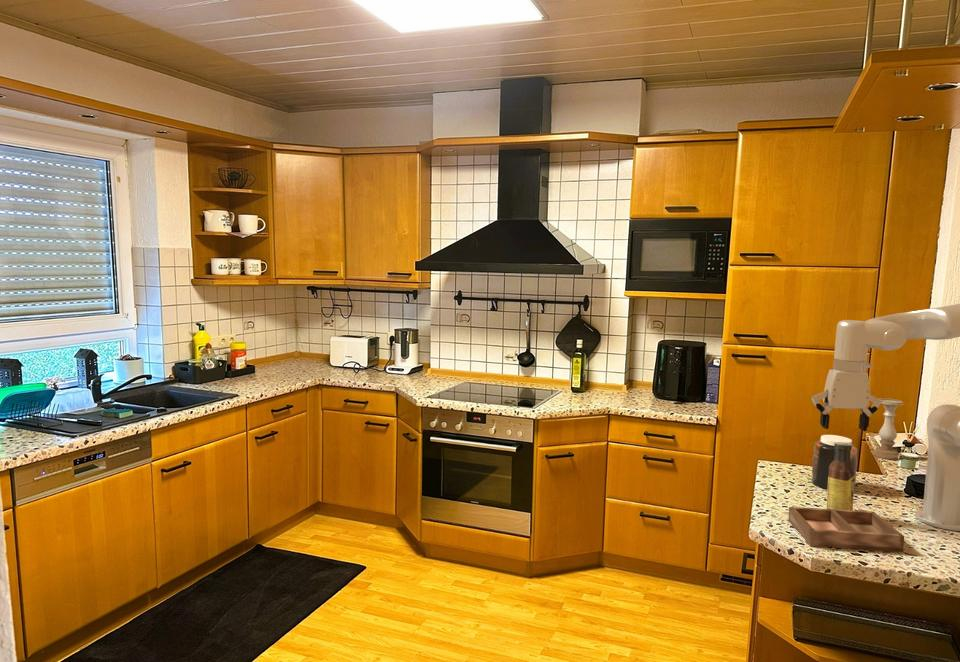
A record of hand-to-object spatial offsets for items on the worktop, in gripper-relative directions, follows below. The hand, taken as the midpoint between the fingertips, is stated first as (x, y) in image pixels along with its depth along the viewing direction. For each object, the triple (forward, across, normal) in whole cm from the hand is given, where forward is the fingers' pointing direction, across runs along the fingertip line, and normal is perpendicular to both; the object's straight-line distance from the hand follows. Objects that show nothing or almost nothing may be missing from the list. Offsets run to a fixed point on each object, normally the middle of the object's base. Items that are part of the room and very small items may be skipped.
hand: (843, 428), depth 171 cm
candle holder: (+24, -41, -59) cm, 76 cm away
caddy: (+24, +4, +14) cm, 28 cm away
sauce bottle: (+24, -1, 0) cm, 24 cm away
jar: (+24, -9, -24) cm, 35 cm away
